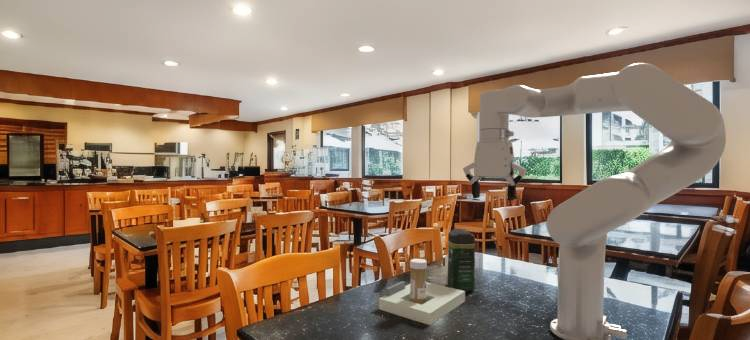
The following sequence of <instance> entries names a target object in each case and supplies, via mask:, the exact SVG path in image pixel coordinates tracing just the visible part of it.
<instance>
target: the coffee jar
mask: <svg viewBox="0 0 750 340" xmlns="http://www.w3.org/2000/svg"><path fill="white" fill-rule="evenodd" d="M447 235H448V236H447V237H448V239H447V246H448V247H447V248H448V249H447V251H448V253H447V254H448V255H447V257H448V258H447V285H448V287H450V288H454V289H458V290H462V291H465V293H467V292H473V291H474V290H475V287H476V286H475V285H476V284H475V276H476V275H475V273H476V272H475V270H476V269H475V261H476V260H475V256H476V255H475V253H476V252H475V251H476V237H475V235H474V234H473V233H471V232H469V231H468V230H466V229H463V228H452V229H451V230H450V231H449V232H448V234H447Z"/></svg>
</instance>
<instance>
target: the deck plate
mask: <svg viewBox="0 0 750 340" xmlns="http://www.w3.org/2000/svg"><path fill="white" fill-rule="evenodd" d="M465 302H466V292H465V291H462V290H458V289H454V288H450V287H449V286H445V285H440V284H435V283H432V282H428V281H426V303H424V304H422V305H421V304H418V303H414V302H411V297H410V283H408V284H407V285H406V281H405V280H404V281H403V280H402V281H399V282H396V283H395V284H393V285H390V286H388V287H386V288H385V295H383V296H381V297H380V298H378V310H381V311H383V312H386V313H390V314H393V315H396V316H399V317H402V318H406V319H409V320H412V321H414V322H418V323H421V324H425V325H429V326H432V325H433V324H434V323H435V322H437V321H439V320H440V319H442V318H443V317H444V316H446V315H448V313H450V312H451V311H453V310H454V309H456V308H457V307H458V306H461V305H462V304H463V303H465Z"/></svg>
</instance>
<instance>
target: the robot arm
mask: <svg viewBox="0 0 750 340" xmlns="http://www.w3.org/2000/svg"><path fill="white" fill-rule="evenodd" d="M630 111H631V112H632V113H633V114H635V115H636V116H637V117H638V118H639V119H641V120H643V121H644V122H645V123H647V124H648V125H650V126H651V127H653V129H655V130H656V131H658V132H659V133H661V134H662V135H664V136H665V137H666V138H667V139H669V140H670V142H669V144H668V145H667V146H666V147H664V148H663V149H662V150H660V151H659V152H658V151H657V152H656V153H654V154H653V155H651V156H650V157H647V159H645V160H644V161H642V162H640V163H639V164H637V165H636V166H634V167H632V168H630V169H628V170H627V171H624V172H622V173H619V174H614V175H610V176H609V175H608V176H607V177H604V178H602V179H600V180H598V181H596V182H594V183H593V184H591V185H589V186H588V187H586V188H584V189H583V190H581V191H580V192H578V193H576V194H575V195H573V196H572V197H569V198H568V199H566V200H565V201H562V202H561V203H560V204H558V205H557V206H556V207H554V208H553V209H552V210H551V211H550V212H549V214H548V216H547V218H546V230H547V234H548V235H549V236H550V238H551V239H552V240H553V241H554V242H555V243H557V244H559V247H558V264H557V265H558V267H557V269H558V271H557V275H558V276H557V318H555V319H553V320H551V321H550V324H549V325H550V326H549V327H550V331H551V332H552V333H553V334H554V335H556V337H558V338H560V339H562V340H612V337H616V338H618V339H622V340H626V339H627V330H626V329H622V326H621V325H618V324H613V323H610V322H609V321H607V316H606V315H604V300H605V299H604V297H605V296H604V295H605V291H604V290H605V266H606V265H605V264H606V262H605V261H606V260H605V259H606V247H607V239H608V233H611V232H612V231H614V230H616V229H619V228H620V227H622V226H624V225H625V224H627V223H629V222H631V221H632V220H635V219H637V218H639V217H641V215H643V214H644V213H646V212H647V211H648V210H649V209H650V208H652V207H654V206H655V205H657V204H659V203H661V202H663V201H665V200H666V199H668V198H670V197H672V196H674V195H675V194H677V193H679V192H681V191H682V190H685V189H686V188H688V187H690V186H691V185H693V184H695V183H696V182H698V181H699V180H701V179H702V178H704V177H706V176H707V175H708V174H709V173H710V172H711V171H712V170H713V169H714V168H715V166H717V164H718V163H719V161H720V160H721V157H722V156H723V153H724V151H725V148H726V143H727V142H726V141H727V140H726V139H727V135H726V134H727V133H726V127H725V126H726V125H725V120H724V117H723V114H722V113H721V111H720V109H719V108H718V107H717V105H715V104H714V103H712V101H710V100H708V99H707V98H705V97H703V96H702V95H700V94H699V93H697V92H695V91H694V90H692V89H691V88H689V87H688V86H686V85H684V84H683V83H681V82H680V81H678V80H677V79H675V78H674V77H673V76H671V75H670V74H668V73H666V72H665V71H663V70H662V69H660V67H658V66H656V65H654V64H651V63H647V62H646V63H645V62H637V63H632V64H630V65H627V66H625V67H623V68H622V69H620V70H619V71H617V72H608V73H603V74H601V73H600V74H593V75H585V76H584V75H583V76H580V77H578V78H576V80H574V81H573V82H572V83H569V84H568V85H563V86H558V87H551V88H543V89H542V88H541V89H540V88H539V89H535V88H532V87H529V86H526V85H523V84H522V85H521V84H514V85H511V86H508V87H504V88H502V89H500V88H499V89H490V90H489V89H488V90H485V91H483V92H482V93H481V94H480V96H479V141H477V143H476V147H475V153H474V159H473V162H472V163H470V164H468V165H466V166H464V167H463V169H462V170H463V172H464V175H465V178H466V179H467V180H468V182H469V183H470V184H471V195H472V198H473V199H478V198H480V196H481V195H480V194H481V184H480V183H479V182H480V180H482V178H488V179H489V178H490V179H505V180H506V181H507V183H508V186H507V201H509V202H511V201H514V200H515V198H516V197H517V185H518V184H519V183H520V182H521V181H522V180H523V179H524V177H525V175H526V173H527V171H528V170H527V168H525V167H523V166H521V165H519V164H517V163H516V162H515V153H514V146H513V142H512V140H509V139H510V138H511V137H514V135H515V133H514V131H513V130H512V131H511V130H510V128H509V126H510V125H509V118H510V116H509V115H512V116H519V117H524V118H531V119H532V118H549V117H563V116H577V115H578V116H579V115H587V114H598V113H600V114H601V113H612V112H613V113H614V112H630ZM471 170H473V174H474V175H473V174H472V173H471ZM516 171H518V174H517V176H515V173H516Z"/></svg>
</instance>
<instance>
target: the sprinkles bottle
mask: <svg viewBox="0 0 750 340" xmlns="http://www.w3.org/2000/svg"><path fill="white" fill-rule="evenodd" d="M427 263H428V262H427V260H426V259H423V258H412V259H410V260H409V267H410V280H409V281H410V283H409V284H410V297H411V302H414V303H418V304H421V305H422V304H424V303H426V282H427V267H428V265H427Z"/></svg>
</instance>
